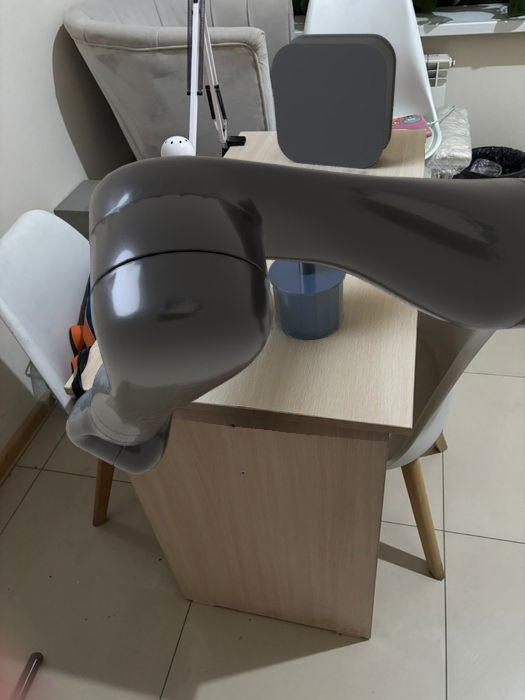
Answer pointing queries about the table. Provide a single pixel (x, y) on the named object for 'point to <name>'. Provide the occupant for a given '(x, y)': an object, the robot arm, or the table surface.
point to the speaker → (334, 98)
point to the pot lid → (304, 278)
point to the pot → (309, 314)
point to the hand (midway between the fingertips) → (225, 257)
